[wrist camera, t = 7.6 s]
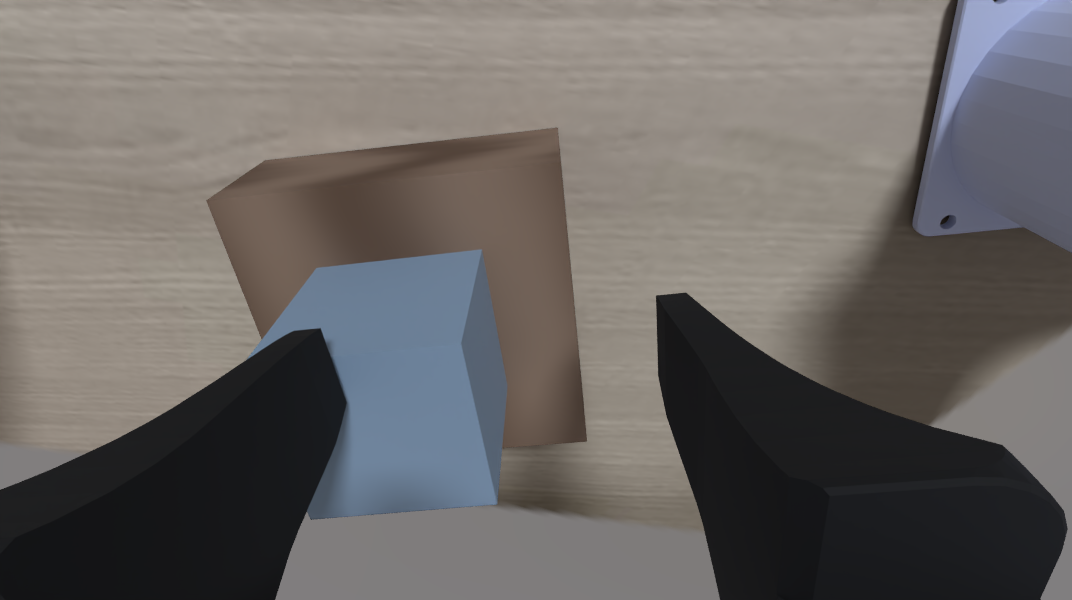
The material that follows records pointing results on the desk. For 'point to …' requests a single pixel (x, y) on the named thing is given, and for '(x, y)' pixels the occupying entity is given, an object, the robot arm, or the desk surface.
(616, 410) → the desk surface
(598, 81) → the desk surface
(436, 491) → the blue cube
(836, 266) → the desk surface
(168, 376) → the desk surface
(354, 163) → the walnut block
